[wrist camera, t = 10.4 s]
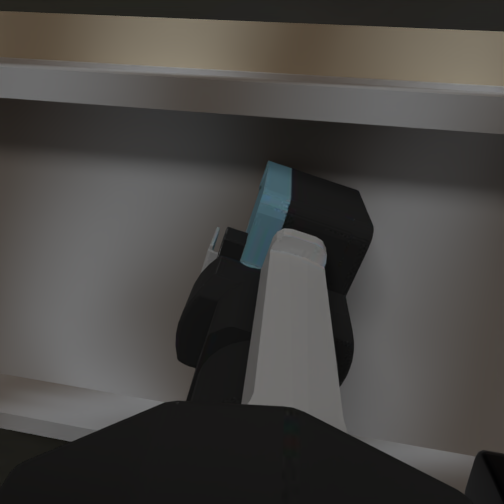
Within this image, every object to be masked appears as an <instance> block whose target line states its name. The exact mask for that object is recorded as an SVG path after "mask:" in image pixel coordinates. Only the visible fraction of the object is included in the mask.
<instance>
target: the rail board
mask: <svg viewBox="0 0 504 504" xmlns="http://www.w3.org/2000/svg"><path fill="white" fill-rule="evenodd" d="M268 161H271V162H274V163H277V164H280V165H283V166H286V167H289V168H293V169H296V170H299V171H302V172H305V173H308V174H311V175H314V176H317V177H320V178H323V179H326V180H329V181H332V182H335V183H338V184H341V185H344V186H347V187H350V188H353V189H356V190H358V191H359V192H360V195H361V197H362V200H363V202H364V204H365V207H366V209H367V212H368V214H369V216H370V219H371V221H372V224H373V226H374V233H373V238H372V241H371V244H370V246H369V249H368V251H367V253H366V255H365V257H364V259H363V261H362V263H361V265H360V268H359V270H358V272H357V274H356V276H355V278H354V280H353V282H352V284H351V287H350V289H349V291H348V293H347V295H346V300H347V305H348V310H349V315H350V320H351V325H352V330H353V337H354V354H353V360H352V364H351V367H350V370H349V372H348V375H347V376H346V378H345V380H344V382H343V383H342V385H341V386H340V395H341V403H342V410H343V418H344V422H345V425H346V428H347V431H348V433H349V435H351V436H353V437H355V438H357V439H359V440H361V441H363V442H365V443H367V444H369V445H371V446H373V447H375V448H377V449H379V450H381V451H383V452H385V453H387V454H389V455H391V456H393V457H394V458H396V459H398V460H400V461H402V462H404V463H406V464H408V465H410V466H412V467H414V468H416V469H418V470H420V471H422V472H424V473H426V474H428V475H430V476H432V477H434V478H436V479H438V480H440V481H442V482H444V483H446V484H448V485H450V486H452V487H454V488H456V489H457V490H459V491H460V492H462V493H463V494H464V493H465V488H466V485H467V482H468V478H469V475H470V472H471V469H472V466H473V462H474V459H475V456H476V455H477V453H478V452H479V451H481V450H487V451H493V452H499V453H504V32H497V31H473V30H448V29H424V28H399V27H375V26H350V25H326V24H301V23H277V22H252V21H228V20H203V19H179V18H154V17H130V16H105V15H81V14H56V13H32V12H7V11H0V428H4V429H9V430H14V431H19V432H24V433H29V434H35V435H40V436H45V437H50V438H55V439H60V440H65V441H71V442H72V441H74V440H76V439H79V438H81V437H84V436H86V435H88V434H91V433H93V432H95V431H98V430H100V429H103V428H105V427H107V426H110V425H112V424H114V423H117V422H119V421H121V420H124V419H126V418H129V417H131V416H133V415H136V414H138V413H140V412H143V411H145V410H148V409H150V408H152V407H155V406H157V405H159V404H162V403H165V402H170V401H186V399H187V396H188V392H189V389H190V386H191V382H192V379H193V376H194V372H195V369H196V368H193V367H189V366H187V365H185V364H183V363H181V362H179V361H178V359H177V354H176V347H175V342H176V331H177V326H178V322H179V320H180V317H181V314H182V312H183V310H184V307H185V305H186V302H187V300H188V297H189V295H190V293H191V290H192V288H193V285H194V283H195V282H196V280H197V279H198V277H199V275H200V274H201V270H202V267H203V264H204V261H205V257H206V254H207V251H208V248H209V246H210V243H211V241H212V238H213V236H214V233H215V231H216V229H217V227H219V228H220V231H219V234H218V238H217V241H216V244H215V247H214V250H213V251H215V252H219V249H220V246H221V243H222V240H223V237H224V234H225V231H226V229H227V227H231V228H234V229H237V230H240V231H243V232H246V229H247V226H248V223H249V220H250V217H251V214H252V211H253V208H254V205H255V202H256V199H257V196H258V193H259V186H260V183H261V180H262V177H263V174H264V171H265V168H266V165H267V162H268Z"/></svg>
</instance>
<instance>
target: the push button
mask: <svg viewBox="0 0 504 504" xmlns="http://www.w3.org/2000/svg"><path fill="white" fill-rule="evenodd" d="M219 231H220V228H219V227H217V229H216V231H215V233H214V236H213V238H212V241H211V243H210V246H209V248H208V251H207V254H206V257H205V261H204V264H203V267H202V270H201V274H200V275H199V277H198V279H197V280H196V282H195V283H194V285H193V288H192V290H191V293H190V295H189V297H188V300H187V302H186V305H185V307H184V310H183V312H182V314H181V317H180V320H179V322H178V326H177V331H176V342H175V347H176V354H177V359H178V361H179V362H181V363H183V364H185V365H187V366H189V367H193V368H196V369H195V372H194V376H193V379H192V382H191V386H190V389H189V392H188V396H187V399H186V401H170V402H165V403H162V404H159V405H157V406H155V407H152V408H150V409H148V410H145V411H143V412H140V413H138V414H136V415H133V416H131V417H129V418H126V419H124V420H121V421H119V422H117V423H114V424H112V425H110V426H107V427H105V428H103V429H100V430H98V431H95V432H93V433H91V434H88V435H86V436H84V437H81V438H79V439H76V440H74V441H72V442H69V443H67V444H65V445H62V446H60V447H58V448H55V449H53V450H50V451H48V452H46V453H43V454H41V455H39V456H36V457H34V458H31V459H29V460H27V461H24V462H22V463H21V464H19V465H17V466H16V467H15V468H14V469H13V470H12V471H11V472H10V474H9V475H8V477H7V478H6V480H5V481H4V483H3V485H2V486H1V488H0V504H473V502H472V501H471V500H470V499H469V498H468V497H467V496H466V495H465V494H463V493H462V492H460V491H459V490H457V489H456V488H454V487H452V486H450V485H448V484H446V483H444V482H442V481H440V480H438V479H436V478H434V477H432V476H430V475H428V474H426V473H424V472H422V471H420V470H418V469H416V468H414V467H412V466H410V465H408V464H406V463H404V462H402V461H400V460H398V459H396V458H394V457H393V456H391V455H389V454H387V453H385V452H383V451H381V450H379V449H377V448H375V447H373V446H371V445H369V444H367V443H365V442H363V441H361V440H359V439H357V438H355V437H353V436H351V435H349V433H348V431H347V428H346V425H345V422H344V418H343V410H342V403H341V395H340V386H341V385H342V383H343V382H344V380H345V378H346V376H347V375H348V372H349V370H350V367H351V364H352V360H353V354H354V337H353V330H352V325H351V320H350V315H349V310H348V305H347V300H346V295H347V293H348V291H349V289H350V287H351V284H352V282H353V280H354V278H355V276H356V274H357V272H358V270H359V268H360V265H361V263H362V261H363V259H364V257H365V255H366V253H367V251H368V249H369V246H370V244H371V241H372V238H373V233H374V226H373V224H372V221H371V219H370V216H369V214H368V212H367V209H366V207H365V204H364V202H363V200H362V197H361V195H360V192H359V191H358V190H356V189H353V188H350V187H347V186H344V185H341V184H338V183H335V182H332V181H329V180H326V179H323V178H320V177H317V176H314V175H311V174H308V173H305V172H302V171H299V170H296V169H293V168H289V167H286V166H283V165H280V164H277V163H274V162H271V161H268V162H267V165H266V168H265V171H264V174H263V177H262V180H261V183H260V186H259V193H258V196H257V199H256V202H255V205H254V208H253V211H252V214H251V217H250V220H249V223H248V226H247V229H246V232H243V231H240V230H237V229H234V228H231V227H227V229H226V231H225V234H224V237H223V240H222V243H221V246H220V249H219V252H215V251H213V250H214V247H215V244H216V241H217V238H218V234H219Z"/></svg>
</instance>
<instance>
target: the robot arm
mask: <svg viewBox="0 0 504 504" xmlns="http://www.w3.org/2000/svg"><path fill="white" fill-rule="evenodd" d="M464 494H465V495H466V496H467V497H468V498H469V499H470V500H471V501H472V502H473V504H504V453H499V452H493V451H487V450H481V451H479V452H478V453H477V455H476V456H475V459H474V462H473V466H472V469H471V472H470V475H469V478H468V482H467V485H466V488H465V493H464Z"/></svg>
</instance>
